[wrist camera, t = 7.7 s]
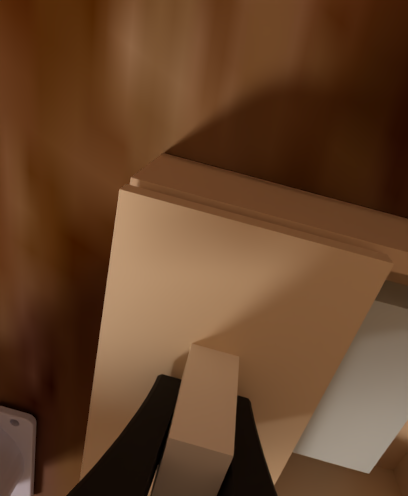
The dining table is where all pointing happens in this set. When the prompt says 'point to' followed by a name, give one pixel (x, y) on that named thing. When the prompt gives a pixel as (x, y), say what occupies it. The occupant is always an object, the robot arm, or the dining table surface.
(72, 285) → the dining table surface
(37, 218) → the dining table surface
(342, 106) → the dining table surface
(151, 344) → the flap
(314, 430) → the carton
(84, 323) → the dining table surface
